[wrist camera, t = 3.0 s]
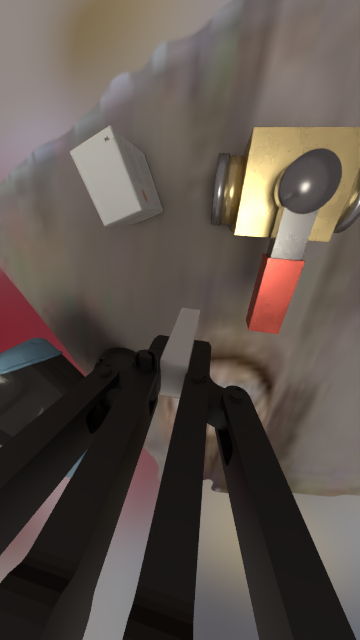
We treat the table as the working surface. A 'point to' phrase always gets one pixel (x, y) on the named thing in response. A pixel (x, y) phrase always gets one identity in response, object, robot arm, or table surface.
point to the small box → (117, 178)
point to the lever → (291, 234)
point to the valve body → (267, 165)
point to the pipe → (220, 181)
